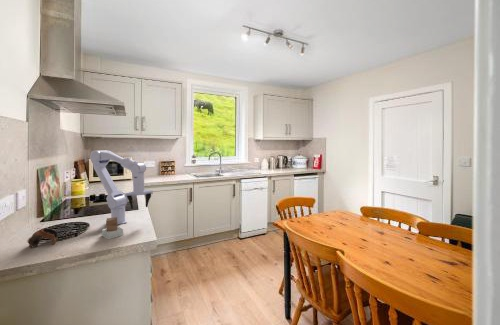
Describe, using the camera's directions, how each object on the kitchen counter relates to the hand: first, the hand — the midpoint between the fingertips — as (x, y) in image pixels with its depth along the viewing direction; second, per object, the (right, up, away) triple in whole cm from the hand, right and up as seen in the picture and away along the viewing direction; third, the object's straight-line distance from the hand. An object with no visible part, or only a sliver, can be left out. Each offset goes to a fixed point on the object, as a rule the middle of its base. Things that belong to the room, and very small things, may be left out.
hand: (139, 207), depth 135 cm
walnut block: (-6, -8, -16) cm, 19 cm away
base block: (-6, -12, -15) cm, 20 cm away
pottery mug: (-31, -12, -28) cm, 44 cm away
